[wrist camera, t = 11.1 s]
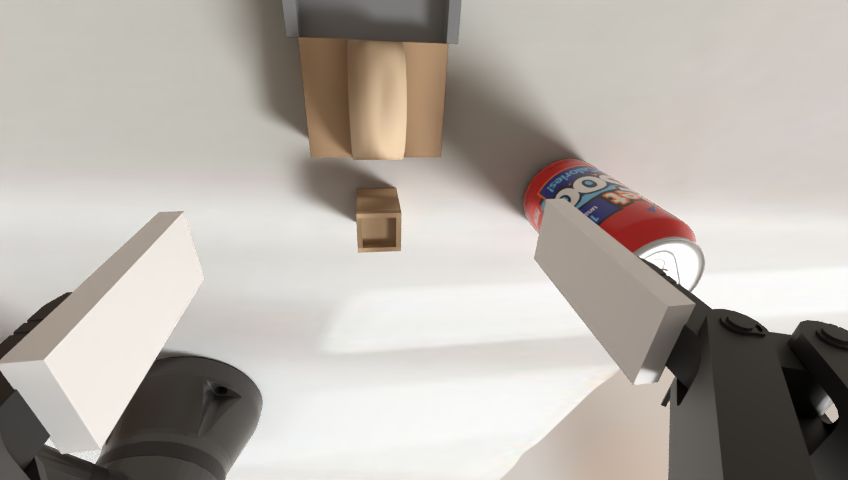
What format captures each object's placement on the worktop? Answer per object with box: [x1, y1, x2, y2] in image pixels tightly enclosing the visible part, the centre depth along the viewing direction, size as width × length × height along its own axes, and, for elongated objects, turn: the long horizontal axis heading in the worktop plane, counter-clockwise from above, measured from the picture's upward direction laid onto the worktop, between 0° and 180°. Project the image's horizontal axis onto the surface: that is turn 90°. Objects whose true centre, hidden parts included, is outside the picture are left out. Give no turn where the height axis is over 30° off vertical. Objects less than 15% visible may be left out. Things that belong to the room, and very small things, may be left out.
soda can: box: [523, 159, 705, 292], centre depth 31 cm, size 8×8×15 cm
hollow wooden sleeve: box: [356, 188, 401, 252], centre depth 33 cm, size 4×4×5 cm
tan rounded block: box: [298, 37, 448, 160], centre depth 27 cm, size 10×8×8 cm
